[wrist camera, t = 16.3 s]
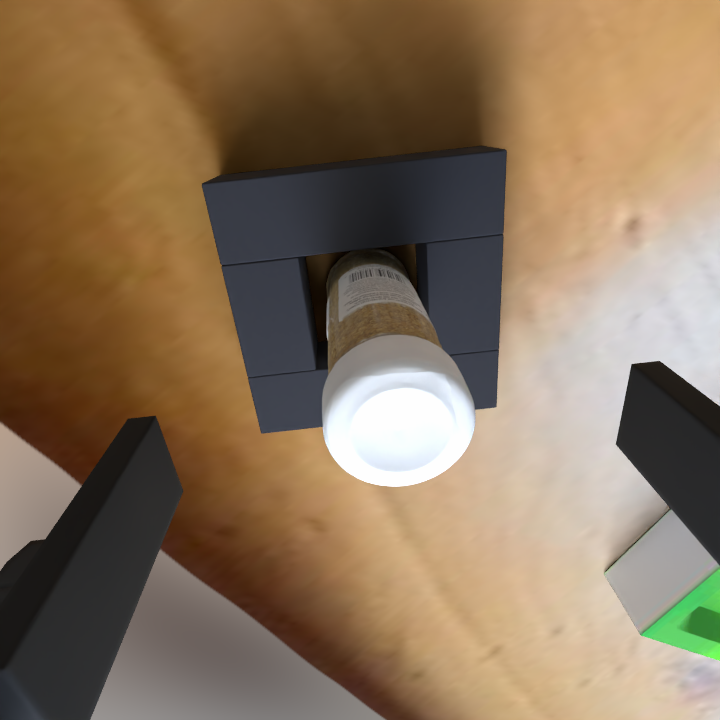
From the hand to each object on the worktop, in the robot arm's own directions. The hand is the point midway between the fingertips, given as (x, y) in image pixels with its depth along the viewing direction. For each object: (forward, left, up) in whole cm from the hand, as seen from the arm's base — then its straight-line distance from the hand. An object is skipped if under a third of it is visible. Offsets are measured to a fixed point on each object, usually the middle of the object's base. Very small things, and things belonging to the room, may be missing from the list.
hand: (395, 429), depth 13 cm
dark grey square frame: (0, 0, -14) cm, 14 cm away
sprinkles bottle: (0, 0, -14) cm, 14 cm away
